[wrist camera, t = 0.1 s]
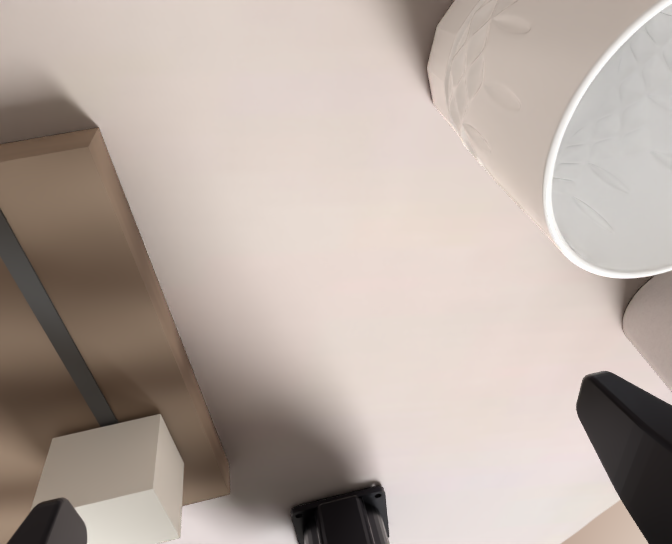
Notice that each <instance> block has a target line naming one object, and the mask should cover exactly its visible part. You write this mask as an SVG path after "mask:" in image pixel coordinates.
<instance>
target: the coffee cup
mask: <svg viewBox="0 0 672 544" xmlns="http://www.w3.org/2000/svg"><path fill="white" fill-rule="evenodd" d="M623 331H624V334H625V336H626V337H627V338H628V340H629V341H630V342H631V343H632V345H633V346H634V347H635V348H636V349H637V351H638V352H639V353H640V354H641V355H642V357H643V358H644V359H645V360H646V362H647V363H648V364H649V365H650V366H651V368H652V369H653V370H654V371H655V372H656V374H657V375H658V376H659V377H660V379H661V380H662V381H663V382H664V383H665V385H666V386H667V387H668V388H669V389H670V391H671V392H672V270H671V271H668V272H665V273H661V274H657V275H656V276H654V277H653V278H652V279H650V280H649V281H648V282H647V283H646V284H645V285H643V286H642V287H641V289H640V290H639V291H638V292H637V293H636V294H635V296H634V297H633V298H632V300H631V301H630V303H629V305H628V306H627V309H626V311H625V314H624V317H623Z"/></svg>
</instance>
